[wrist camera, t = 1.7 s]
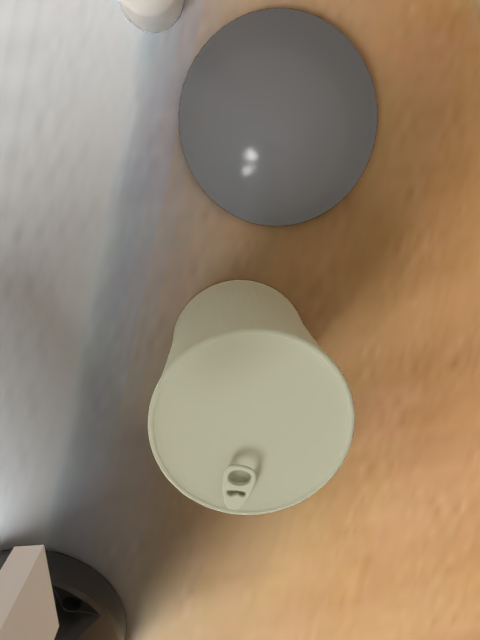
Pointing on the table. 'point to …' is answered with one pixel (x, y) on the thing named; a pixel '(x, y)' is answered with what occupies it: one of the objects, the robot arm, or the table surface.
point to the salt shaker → (152, 13)
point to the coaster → (277, 117)
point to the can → (248, 404)
